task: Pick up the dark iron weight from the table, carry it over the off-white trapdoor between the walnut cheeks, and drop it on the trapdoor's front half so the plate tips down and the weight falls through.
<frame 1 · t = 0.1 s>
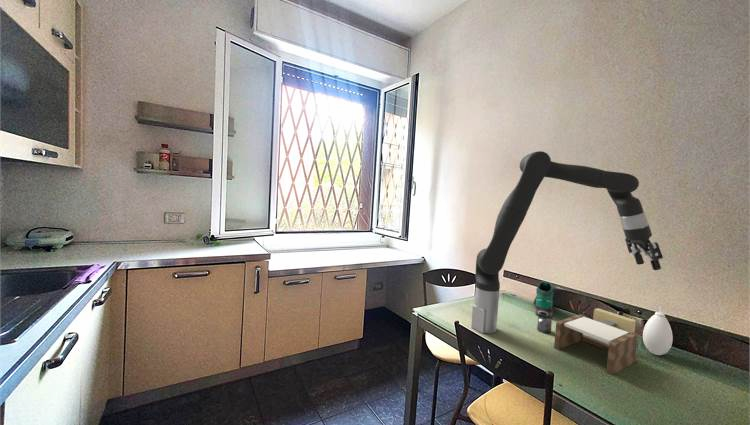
hand: (648, 266, 110), 31 cm above the table, tool tilted 20°, fingers open, 8 cm apart
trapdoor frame: (593, 354, 105), on the table
sneaker: (542, 310, 146), on the table
trapdoor: (601, 326, 106), point 10 cm above the table, hinge at 0.0°
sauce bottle: (655, 354, 108), on the table
iron weight: (543, 330, 122), on the table
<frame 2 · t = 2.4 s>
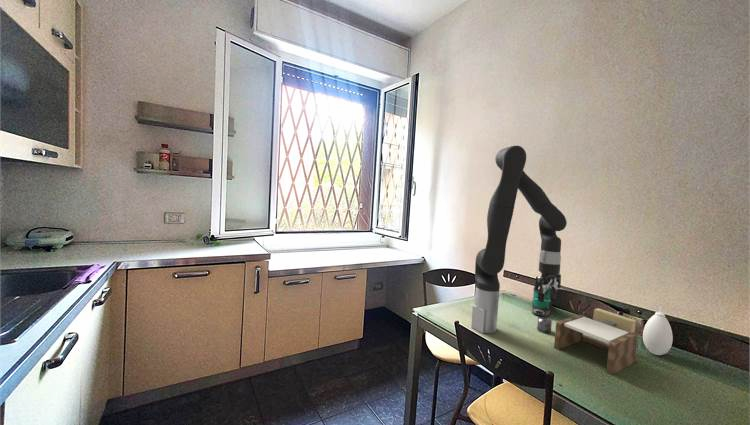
hand: (547, 299, 121), 13 cm above the table, tool pointing down, fingers open, 8 cm apart
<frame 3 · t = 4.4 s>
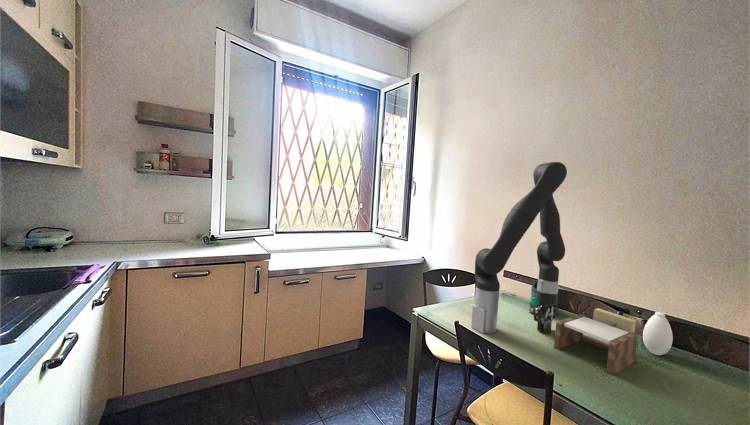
hand: (543, 329, 122), 0 cm above the table, tool pointing down, fingers closed on iron weight, 5 cm apart
iron weight: (543, 330, 122), on the table, touching gripper
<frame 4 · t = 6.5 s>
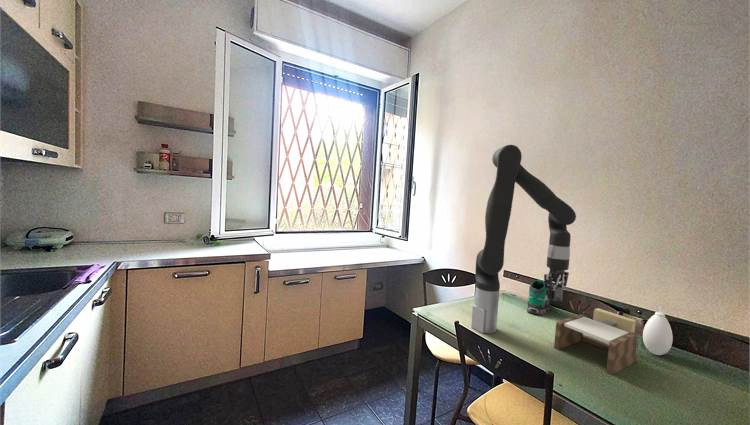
hand: (554, 298, 118), 15 cm above the table, tool pointing down, fingers closed on iron weight, 5 cm apart
iron weight: (554, 299, 118), point 15 cm above the table, touching gripper
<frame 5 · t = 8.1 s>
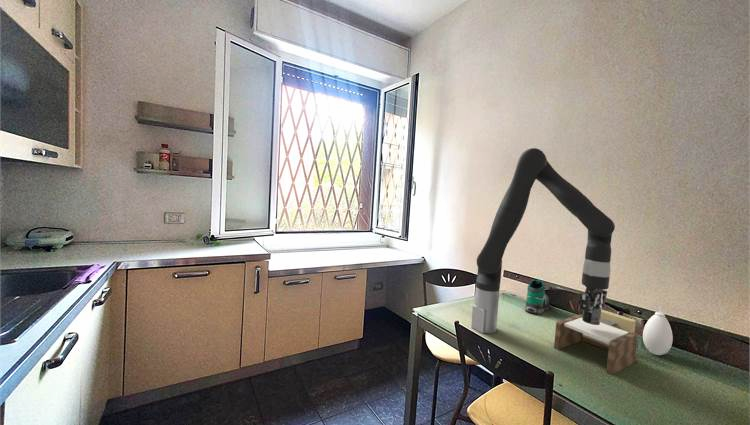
hand: (591, 320, 102), 13 cm above the table, tool pointing down, fingers closed on iron weight, 5 cm apart
iron weight: (591, 321, 102), point 13 cm above the table, touching gripper
when the fingers open (13 cm above the table, at t = 8.6 s): iron weight drops 11 cm and tips over, resting on trapdoor.
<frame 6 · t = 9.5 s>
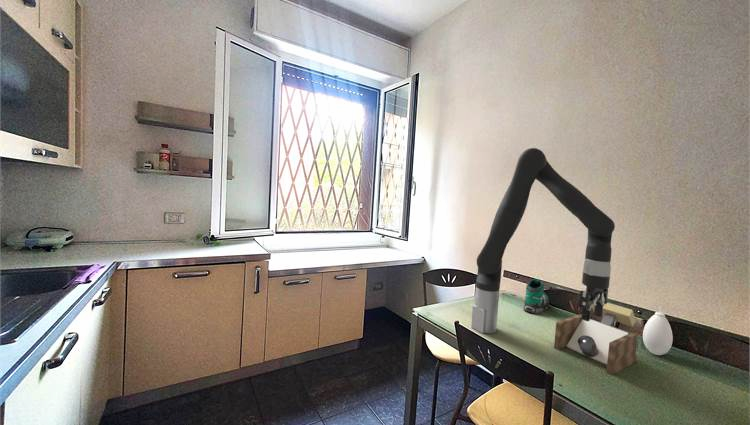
hand: (591, 318, 102), 14 cm above the table, tool pointing down, fingers open, 8 cm apart
trapdoor: (601, 331, 107), point 8 cm above the table, hinge at -40.7°, touching iron weight
iron weight: (589, 350, 104), point 2 cm above the table, tilted 41°, touching trapdoor
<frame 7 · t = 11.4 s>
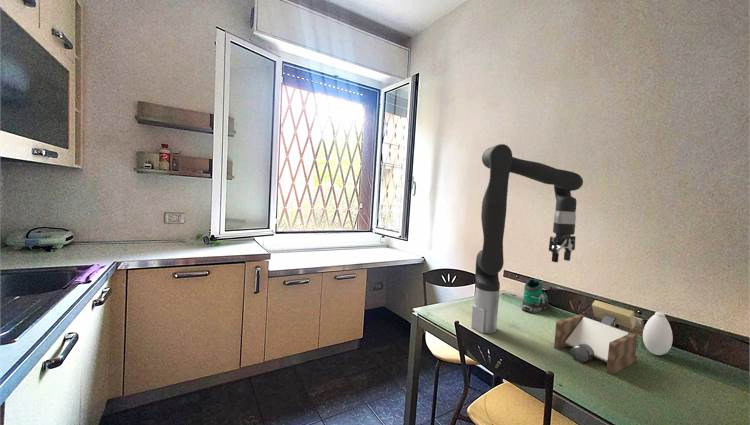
hand: (560, 261, 121), 30 cm above the table, tool pointing down, fingers open, 8 cm apart
trapdoor: (601, 330, 107), point 8 cm above the table, hinge at -31.7°, touching iron weight
iron weight: (586, 351, 102), point 2 cm above the table, tilted 90°, touching trapdoor
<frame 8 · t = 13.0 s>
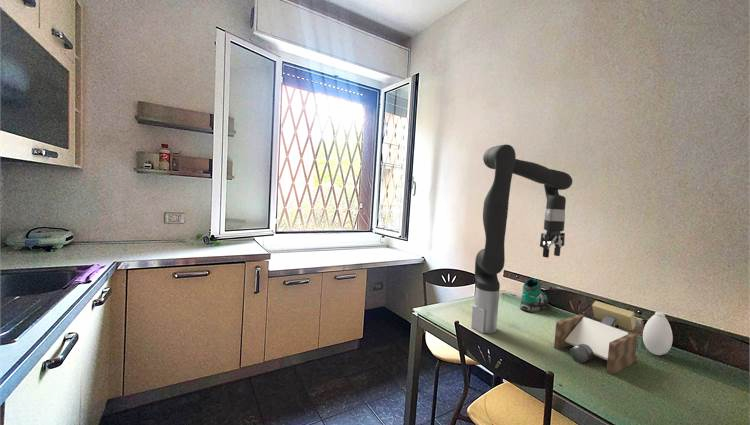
hand: (551, 256, 128), 30 cm above the table, tool pointing down, fingers open, 8 cm apart
trapdoor: (601, 330, 107), point 8 cm above the table, hinge at -28.1°, touching iron weight
at the end: iron weight point 2.5 cm above the table; iron weight inside the target area on the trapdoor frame (0.4 cm from its centre), point 2.5 cm above the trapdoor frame's base; the gripper is holding nothing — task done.
